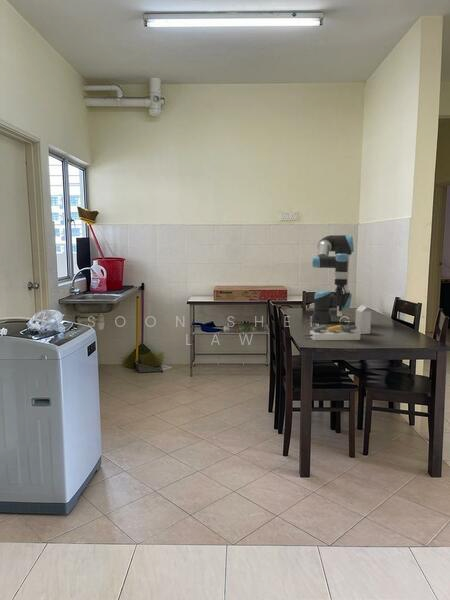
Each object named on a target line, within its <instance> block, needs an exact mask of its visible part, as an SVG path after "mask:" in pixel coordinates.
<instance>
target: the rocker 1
mask: <svg viewBox="0 0 450 600" xmlns="http://www.w3.org/2000/svg"><path fill="white" fill-rule="evenodd" d="M327 328H328V327H327V325H326V324H322V325H317V326H314V327H311V331H314V332H317V331H326V330H327Z"/></svg>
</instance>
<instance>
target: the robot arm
mask: <svg viewBox="0 0 450 600" xmlns="http://www.w3.org/2000/svg"><path fill="white" fill-rule="evenodd" d="M330 252H334V254H335V256H333V255H330V254H329V253H330ZM353 252H355V250H354V240H353V236H352V235H348V234H347V235H346V234H345V235H344V234H343V235H342V234H340V235H337V234H336V235H333V234H332V235H331V234H330V235H326V236H324V237H323V238H321V239H320V240H319V241H318V243H317V253H316V255H314V256H312V267H313V268H318V269H320V268H321V269H334V270H335V271H334V286H335V288H334V290H333V292H331V290H321V291H316V292H315V293H314V300H313V301H314V302H313V303H314V305H313V312H312V313H313V314H312V316H311V318H310V319H311V323H314V324H322V325H326V324H331V323H333V318H332V315H331V309H335V310H336V316H337V317H342V316H343V310H348V309H349V308H350V307H351V302H352V296H353V295H352V293H351V291H350V289H349V273H350V272H349V271H350V256H351V255H352V253H353ZM329 255H330V256H329Z"/></svg>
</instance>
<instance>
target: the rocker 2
mask: <svg viewBox="0 0 450 600" xmlns="http://www.w3.org/2000/svg"><path fill="white" fill-rule="evenodd" d="M341 327H342V326H341ZM355 329H357V328H356V326H355V324H350V325H347V326H343V327H342V329H341V330H342V331H344V332H346V331H350V330H355Z"/></svg>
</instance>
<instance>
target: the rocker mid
mask: <svg viewBox="0 0 450 600" xmlns="http://www.w3.org/2000/svg"><path fill="white" fill-rule="evenodd" d="M326 330H327V331H329V332H332V331H336V330H342V325H340V324H337V325H333V326H328V327H327V329H326Z"/></svg>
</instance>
